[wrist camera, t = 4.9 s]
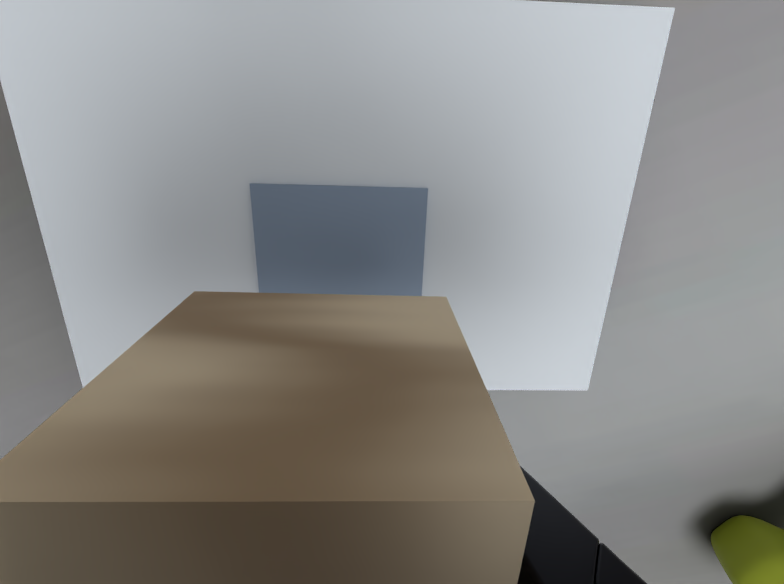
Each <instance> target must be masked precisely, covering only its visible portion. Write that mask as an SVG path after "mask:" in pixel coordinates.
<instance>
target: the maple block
mask: <svg viewBox="0 0 784 584" xmlns="http://www.w3.org/2000/svg"><path fill="white" fill-rule="evenodd" d="M534 503H535V500H534V497H533V495H532V493H531V491H530V488H529V486H528V484H527V481H526V479H525V477H524V474H523V472H522V470H521V468H520V465H519V463H518V461H517V458H516V456H515V454H514V451H513V449H512V447H511V445H510V442H509V440H508V438H507V435H506V433H505V431H504V428H503V426H502V424H501V422H500V419H499V417H498V415H497V412H496V410H495V408H494V405H493V403H492V401H491V398H490V396H489V394H488V392H487V389H486V387H485V385H484V382H483V380H482V378H481V375H480V373H479V371H478V369H477V366H476V364H475V362H474V359H473V357H472V355H471V352H470V350H469V348H468V346H467V343H466V341H465V339H464V336H463V334H462V332H461V329H460V327H459V325H458V323H457V320H456V318H455V316H454V313H453V311H452V309H451V306H450V304H449V302H448V300H447V297H439V296H393V295H346V294H300V293H253V292H207V291H194V292H193V293H192V294H191V295H190V296H188V297H187V298H186V299H185V300H184V301H183V302H181V303H180V304H179V305H178V306H177V307H176V308H175V309H173V310H172V311H171V312H170V313H169V314H168V315H166V316H165V317H164V318H163V319H162V320H161V321H160V322H158V323H157V324H156V325H155V326H154V327H153V328H152V329H150V330H149V331H148V332H147V333H146V334H145V335H143V336H142V337H141V338H140V339H139V340H138V341H137V342H135V343H134V344H133V345H132V346H131V347H130V348H128V349H127V350H126V351H125V352H124V353H123V354H122V355H120V356H119V357H118V358H117V359H116V360H115V361H114V362H112V363H111V364H110V365H109V366H108V367H107V368H105V369H104V370H103V371H102V372H101V373H100V374H99V375H97V376H96V377H95V378H94V379H93V380H92V381H91V382H89V383H88V384H87V385H86V386H85V387H84V388H82V389H81V390H80V391H79V392H78V393H77V394H76V395H74V396H73V397H72V398H71V399H70V400H69V401H67V402H66V403H65V404H64V405H63V406H62V407H61V408H59V409H58V410H57V411H56V412H55V413H54V414H53V415H51V416H50V417H49V418H48V419H47V420H46V421H44V422H43V423H42V424H41V425H40V426H39V427H38V428H36V429H35V430H34V431H33V432H32V433H31V434H29V435H28V436H27V437H26V438H25V439H24V440H23V441H21V442H20V443H19V444H18V445H17V446H16V447H15V448H13V449H12V450H11V451H10V452H9V453H8V454H6V455H5V456H4V457H3V458H2V459H1V460H0V584H517V583H518V578H519V574H520V569H521V564H522V559H523V555H524V550H525V545H526V541H527V536H528V531H529V527H530V522H531V517H532V512H533V508H534Z"/></svg>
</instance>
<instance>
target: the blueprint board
mask: <svg viewBox="0 0 784 584" xmlns="http://www.w3.org/2000/svg"><path fill="white" fill-rule="evenodd" d="M674 10H675V8H667V7H646V6H626V5H606V4H585V3H565V2H544V1H524V0H0V81H1V84H2V88H3V92H4V96H5V99H6V103H7V107H8V110H9V114H10V118H11V122H12V125H13V129H14V133H15V137H16V140H17V144H18V148H19V151H20V155H21V159H22V163H23V166H24V170H25V174H26V178H27V181H28V185H29V189H30V192H31V196H32V200H33V204H34V207H35V211H36V215H37V219H38V222H39V226H40V230H41V233H42V237H43V241H44V245H45V248H46V252H47V256H48V260H49V263H50V267H51V271H52V274H53V278H54V282H55V286H56V289H57V293H58V297H59V301H60V304H61V308H62V312H63V316H64V319H65V323H66V327H67V330H68V334H69V338H70V342H71V345H72V349H73V353H74V357H75V360H76V364H77V368H78V371H79V375H80V379H81V383H82V386H83V388H84V387H85V386H86V385H87V384H88V383H89V382H91V381H92V380H93V379H94V378H95V377H96V376H97V375H99V374H100V373H101V372H102V371H103V370H104V369H105V368H107V367H108V366H109V365H110V364H111V363H112V362H114V361H115V360H116V359H117V358H118V357H119V356H120V355H122V354H123V353H124V352H125V351H126V350H127V349H128V348H130V347H131V346H132V345H133V344H134V343H135V342H137V341H138V340H139V339H140V338H141V337H142V336H143V335H145V334H146V333H147V332H148V331H149V330H150V329H152V328H153V327H154V326H155V325H156V324H157V323H158V322H160V321H161V320H162V319H163V318H164V317H165V316H166V315H168V314H169V313H170V312H171V311H172V310H173V309H175V308H176V307H177V306H178V305H179V304H180V303H181V302H183V301H184V300H185V299H186V298H187V297H188V296H190V295H191V294H192V293H193V292H194V291H207V292H253V293H300V294H346V295H393V296H439V297H447V300H448V302H449V304H450V306H451V309H452V311H453V313H454V316H455V318H456V320H457V323H458V325H459V327H460V329H461V332H462V334H463V336H464V339H465V341H466V343H467V346H468V348H469V350H470V352H471V355H472V357H473V359H474V362H475V364H476V366H477V369H478V371H479V373H480V375H481V378H482V380H483V382H484V385H485V387H486V389H487V390H588V387H589V382H590V378H591V374H592V369H593V365H594V361H595V356H596V352H597V347H598V343H599V339H600V334H601V330H602V325H603V321H604V317H605V312H606V308H607V304H608V299H609V295H610V290H611V286H612V282H613V277H614V273H615V268H616V264H617V260H618V255H619V251H620V246H621V242H622V238H623V233H624V229H625V225H626V220H627V216H628V211H629V207H630V203H631V198H632V194H633V189H634V185H635V181H636V176H637V172H638V168H639V163H640V159H641V154H642V150H643V146H644V141H645V137H646V132H647V128H648V124H649V119H650V115H651V111H652V106H653V102H654V97H655V93H656V89H657V84H658V80H659V75H660V71H661V67H662V62H663V58H664V54H665V49H666V45H667V40H668V36H669V32H670V27H671V23H672V18H673V14H674Z"/></svg>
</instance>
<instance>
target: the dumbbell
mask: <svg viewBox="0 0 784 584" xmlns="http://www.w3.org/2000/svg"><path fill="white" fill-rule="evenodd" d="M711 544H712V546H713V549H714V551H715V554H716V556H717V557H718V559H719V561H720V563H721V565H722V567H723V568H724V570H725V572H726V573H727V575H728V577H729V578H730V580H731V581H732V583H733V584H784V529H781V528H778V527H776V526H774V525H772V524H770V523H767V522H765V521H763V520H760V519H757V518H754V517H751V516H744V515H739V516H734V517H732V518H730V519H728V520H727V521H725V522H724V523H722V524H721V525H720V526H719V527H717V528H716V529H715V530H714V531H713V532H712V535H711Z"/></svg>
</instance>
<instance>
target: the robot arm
mask: <svg viewBox="0 0 784 584" xmlns="http://www.w3.org/2000/svg"><path fill="white" fill-rule="evenodd" d="M520 468H521V470H522V472H523V474H524V477H525V479H526V481H527V484H528V486H529V488H530V491H531V493H532V495H533V497H534V500H535V503H534V508H533V512H532V517H531V522H530V527H529V531H528V536H527V541H526V545H525V550H524V555H523V559H522V564H521V569H520V574H519V578H518V583H517V584H647V583H646V582H645V581H644V580H643V579H641V578H640V577H639V576H638V575H637V574H636V573H635V572H634V571H633V570H631V569H630V568H629V567H628V566H627V565H626V564H625V563H624V562H623V561H621V560H620V559H619V558H618V557H617V556H616V555H615V554H614V553H613V552H612V551H611V550H610V549H609V548H608V547H607V546H605V545H604V544H603V543H600V544H599V540H598V538H597V537H596V536H595V535H593V534H592V533H591V532H590V531H589V530H588V529H587V528H586V527H585V526H584V525H583V524H582V523H581V522H580V521H579V520H577V519H576V518H575V517H574V516H573V515H572V514H571V513H570V512H569V511H568V510H567V509H566V508H565V507H564V506H562V505H561V504H560V503H559V502H558V501H557V500H556V499H555V498H554V497H553V496H552V495H551V494H550V493H549V492H548V491H546V490H545V489H544V488H543V487H542V486H541V485H540V484H539V483H538V482H537V481H536V480H535V479H534V478H533V477H532V476H530V475H529V474H528V473H527V472H526V471H525V470H524V469H523V468H522V467H521V466H520Z"/></svg>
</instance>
